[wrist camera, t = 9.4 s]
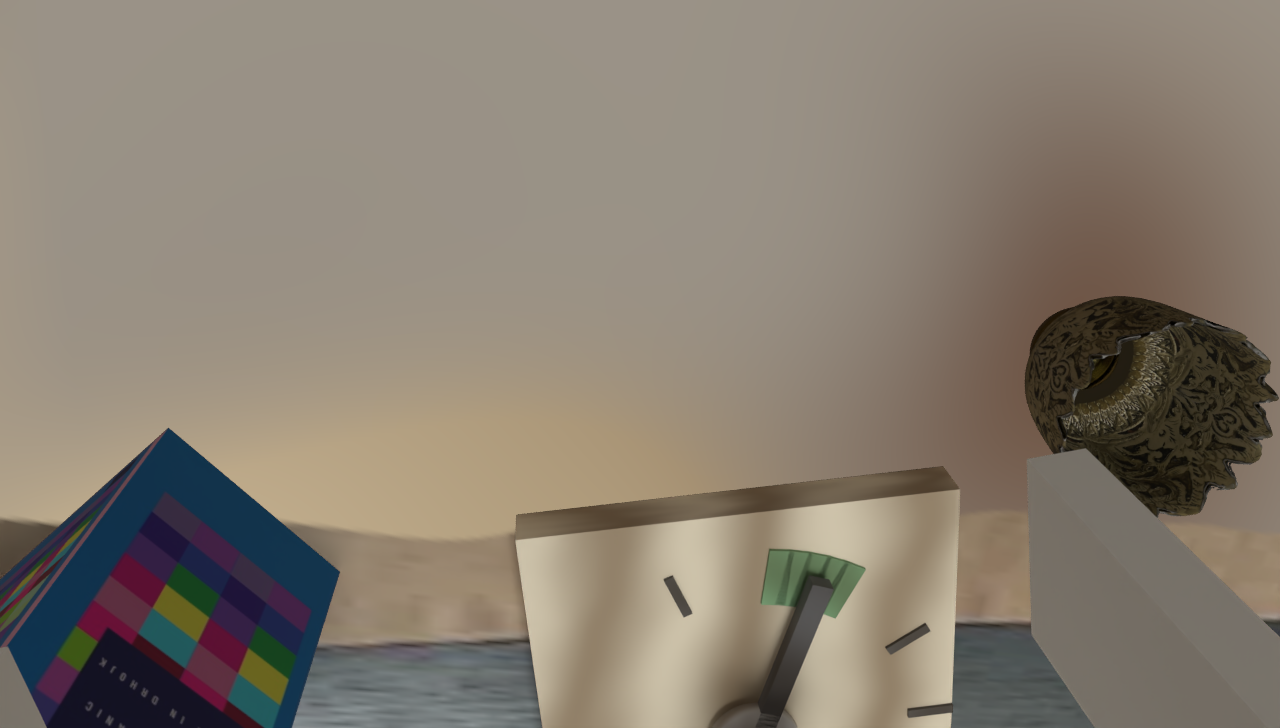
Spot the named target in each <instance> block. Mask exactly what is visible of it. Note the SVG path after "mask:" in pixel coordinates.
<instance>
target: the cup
mask: <svg viewBox="0 0 1280 728" xmlns="http://www.w3.org/2000/svg"><path fill="white" fill-rule="evenodd" d="M1246 339H1247V337H1246V336H1245V335H1243V334H1242V333H1240V332H1238V331H1235V330H1233V329H1230V328H1228V327H1224V326H1221V325H1219V324H1216V323H1213V322H1210V321H1208V320H1205V319H1203V318H1200V317H1197V316H1194V315H1192V314H1189V313H1187V312H1184V311H1181V310H1179V309H1176V308H1173V307H1171V306H1168V305H1165V304H1162V303H1159V302H1155V301H1150V300H1146V299H1142V298H1135V297H1126V296H1113V297H1105V298H1099V299H1094V300H1090V301H1087V302H1084V303H1082V304H1080V305H1077V306H1075V307H1072V308H1067V309H1064V310H1061V311H1059V312H1057V313H1055V314H1053V315H1052V316H1050V317H1049V318H1048V319H1046V320H1045V321H1044V322H1043V323H1042V325H1041V326H1040V327H1039V328H1038V330H1037V331H1036V333H1035V335H1034V337H1033V339H1032V343H1031V347H1030V356H1029V359H1028V363H1027V367H1026V372H1025V394H1026V399H1027V403H1028V407H1029V410H1030V413H1031V416H1032V418H1033V420H1034V422H1035V424H1036V426H1037V428H1038V430H1039V432H1040V433H1041V435H1042V437H1043V439H1044V440H1045V442H1046V443H1047V445H1048V446H1049V448H1050V449H1051V451H1052V452H1053V454H1058V453H1063V452H1069V451H1074V450H1080V449H1085V448H1086V449H1087V450H1088V451H1089V452H1090V453H1091V454H1092V455H1093V456H1094V457H1095V458H1096V459H1097V460H1098V461H1099V462H1100V463H1101V464H1102V465H1103V466H1105V467H1106V468H1107V469H1108V470H1109V471H1110V472H1111V473H1112V474H1113V475H1114V476H1115V477H1116V478H1117V479H1118V480H1119V481H1120V482H1121V483H1122V484H1123V485H1124V486H1125V487H1126V488H1127V489H1128V490H1129V491H1130V492H1131V493H1132V494H1133V495H1134V496H1135V497H1136V498H1137V499H1138V500H1139V501H1140V502H1141V503H1142V504H1144V505H1145V506H1146V507H1147V508H1148V509H1149V510H1150V511H1151V512H1152V513H1153V514H1154V515H1155V516H1156V517H1157V518H1158V515H1159V513H1163V514H1167V515H1170V516H1187V515H1193V514H1197V513H1199V512H1200V511H1201V510H1202V508H1203V506H1204V504H1205V502H1206V499H1207V494H1208V492H1209V491H1210V490H1211V488H1212V487H1211V486H1215V487H1218V488H1220V489H1218V490H1221V489H1222V490H1230V489H1235V488H1236V487H1237V485H1238V483H1237V481H1236V477H1235V474H1234V472H1233V471H1232V468H1231V466H1230V465H1231V463H1235V464H1249V465H1250V464H1252V463H1254V462H1256V461H1258V460H1259V459H1260V456H1261V455H1262V453H1261V450H1262V445H1261V444H1260V442H1259V440H1263V439H1264V438H1270V437H1272V435H1273V434H1272V430H1271V427H1270V425H1269V423H1268V421H1267V419H1266V411H1265V410H1264V409H1263V408H1262V407H1261V406H1260V404H1259V403H1266V402H1269V403H1270V402H1272V401H1277V400H1278V399H1279V397H1278V395H1277V394H1276V393H1275V391H1274V390H1273V389H1272V388H1271V387H1270V386H1269V385H1268V384H1267V383H1266V382H1265V377H1266V375H1267V374H1269V373H1270V364H1271V362H1270V360H1269V359H1268V358H1267V357H1266V355H1265V354H1263V353H1262V352H1261V351H1260V350H1259V349H1257V348H1256V347H1255V346H1254V345H1253V344H1252V343H1250V342H1249V341H1248V340H1246ZM1228 462H1230V463H1229V466H1228ZM1229 468H1230V469H1229ZM1230 470H1231V471H1230ZM1231 472H1232V473H1231ZM1213 488H1214V487H1213Z"/></svg>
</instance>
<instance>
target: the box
mask: <svg viewBox="0 0 1280 728" xmlns="http://www.w3.org/2000/svg"><path fill="white" fill-rule="evenodd" d="M339 573H340V572H339V571H338V570H337V569H336V568H335V567H333V566H332V565H331V564H330V563H329V562H327V561H326V560H325V559H324V558H323V557H322V556H320V555H319V554H318V553H317V552H316V551H314V550H313V549H312V548H311V547H310V546H308V545H307V544H306V543H305V542H304V541H302V540H301V539H300V538H299V537H298V536H297V535H295V534H294V533H293V532H292V531H291V530H289V529H288V528H287V527H286V526H285V525H283V524H282V523H281V522H280V521H279V520H278V519H277V518H275V517H274V516H273V515H272V514H271V513H269V512H268V511H267V510H266V509H265V508H263V507H262V506H261V505H260V504H259V503H257V502H256V501H255V500H254V499H253V498H251V497H250V496H249V495H248V494H247V493H246V492H244V491H243V490H242V489H241V488H240V487H238V486H237V485H236V484H235V483H234V482H232V481H231V480H230V479H229V478H228V477H227V476H225V475H224V474H223V473H222V472H221V471H219V470H218V469H217V468H216V467H215V466H213V465H212V464H211V463H210V462H209V461H207V460H206V459H205V458H204V457H203V456H202V455H200V454H199V453H198V452H197V451H196V450H194V449H193V448H192V447H191V446H189V445H188V444H187V443H186V442H185V441H183V440H182V439H181V438H180V437H179V436H178V435H177V434H175V433H174V432H173V431H172V430H170V429H169V428H168V429H167V430H165V431H164V432H163V433H162V434H161V435H160V436H159V437H158V438H156V439H155V440H154V441H153V442H152V443H151V444H150V445H149V446H148V447H146V448H145V449H144V450H143V451H142V452H141V453H140V454H139V455H138V456H137V457H135V458H134V459H133V460H132V461H131V462H130V463H129V464H128V465H126V466H125V467H124V468H123V469H122V470H121V471H120V472H119V473H118V474H117V475H115V476H114V477H113V478H112V479H111V480H110V481H109V482H108V483H106V484H105V485H104V486H103V487H102V488H101V489H100V490H99V491H98V492H96V493H95V494H94V495H93V496H92V497H91V498H90V499H89V500H88V501H86V502H85V503H84V504H83V505H82V506H81V507H80V508H79V509H78V510H77V511H75V512H74V513H73V514H72V515H71V516H70V517H69V518H68V519H66V520H65V521H64V522H63V523H62V524H61V525H60V526H59V527H58V528H56V529H55V530H54V531H53V532H52V533H51V534H50V535H49V536H48V537H46V538H45V539H44V540H43V541H42V542H41V543H40V544H39V545H38V546H36V547H35V548H34V549H33V550H32V551H31V552H30V553H29V554H28V555H26V556H25V557H24V558H23V559H22V560H21V561H20V562H19V563H18V564H16V565H15V566H14V567H13V568H12V569H11V570H10V571H9V572H8V573H6V574H5V575H4V576H3V577H2V578H1V579H0V648H2V647H8V648H9V650H10V652H11V654H12V656H13V658H14V660H15V663H16V665H17V667H18V669H19V671H20V673H21V675H22V677H23V679H24V681H25V683H26V685H27V687H28V690H29V692H30V694H31V696H32V698H33V700H34V702H35V704H36V706H37V708H38V710H39V712H40V714H41V717H42V719H43V721H44V723H45V725H46V727H47V728H292V725H293V722H294V719H295V715H296V712H297V709H298V706H299V702H300V699H301V696H302V693H303V690H304V686H305V683H306V680H307V677H308V673H309V670H310V667H311V664H312V661H313V657H314V654H315V651H316V648H317V644H318V641H319V638H320V635H321V631H322V628H323V625H324V622H325V619H326V615H327V612H328V609H329V606H330V602H331V599H332V596H333V593H334V590H335V586H336V583H337V580H338V577H339Z"/></svg>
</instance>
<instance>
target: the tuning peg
mask: <svg viewBox="0 0 1280 728" xmlns="http://www.w3.org/2000/svg"><path fill="white" fill-rule="evenodd" d="M833 590H834V589H833V586H832V584H831V582H830V580H829V579H825V578H820V577H815V576H811V575H809V577H808V579H807V582H806V584H805V586H804V589H803V591H802V594H801V596H800V599H799V601H798V604H797V606H796V609H795V611H794V614H793V616H792V619H791V621H790V624H789V626H788V629H787V631H786V634H785V636H784V639H783V641H782V643H781V646H780V648H779V651H778V653H777V656H776V658H775V661H774V663H773V666H772V668H771V671H770V673H769V676H768V678H767V681H766V683H765V686H764V688H763V691H762V693H761V696H760V698H759V700H758V702H755V703H747V704H743V705H740V706H737V707H735V708H732V709H731V710H729V711H727V712H726V713H724V714H723V715H722V716H721V717H720V718H719V719H718V720H717V721H716V722H715V723H714V725H713V726H712V728H798V727H797V724H796V722H795V720H794V719H793V717H792V716H791V715H790V714H789V713H788V712H787V711H785V710H784V708H785V706H786V703H787V701H788V698H789V696H790V694H791V691H792V689H793V686H794V684H795V681H796V679H797V677H798V674H799V672H800V669H801V667H802V665H803V662H804V660H805V657H806V655H807V653H808V650H809V648H810V645H811V643H812V641H813V638H814V636H815V633H816V631H817V628H818V626H819V624H820V621H821V619H822V616H823V614H824V612H825V609H826V607H827V604H828V602H829V600H830V597H831V595H832V592H833Z"/></svg>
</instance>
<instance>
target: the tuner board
mask: <svg viewBox="0 0 1280 728" xmlns="http://www.w3.org/2000/svg"><path fill="white" fill-rule="evenodd" d="M959 507H960V488H959V487H958V486H957V484H956V483H955V482H954V480H953V479H952V478H951V476H950V475H949V474H948V472H947V471H946V470H945V468H944V467H943V466H941V467H932V468H923V469H916V470H907V471H898V472H889V473H880V474H871V475H862V476H854V477H844V478H835V479H827V480H818V481H809V482H800V483H791V484H783V485H774V486H765V487H756V488H747V489H739V490H730V491H722V492H713V493H703V494H694V495H687V496H678V497H668V498H660V499H651V500H642V501H633V502H625V503H615V504H607V505H598V506H589V507H580V508H571V509H563V510H554V511H545V512H536V513H527V514H518V515H516V536H515V542H516V548H517V555H518V562H519V569H520V576H521V583H522V590H523V597H524V604H525V611H526V618H527V624H528V631H529V638H530V645H531V652H532V659H533V666H534V673H535V680H536V687H537V694H538V700H539V707H540V714H541V721H542V728H712V726H713V725H714V723H715V722H716V721H717V720H718V719H719V718H720V717H721V716H722V715H723V714H724V713H726V712H727V711H729V710H731V709H732V708H735V707H737V706H740V705H743V704H747V703H755V702H758V700H759V698H760V696H761V693H762V691H763V688H764V686H765V683H766V681H767V678H768V676H769V673H770V671H771V668H772V666H773V663H774V661H775V658H776V656H777V653H778V651H779V648H780V646H781V643H782V641H783V639H784V636H785V634H786V631H787V629H788V626H789V624H790V621H791V619H792V616H793V614H794V611H795V609H796V606H797V604H798V601H799V599H800V596H801V594H802V591H803V589H804V586H805V584H806V582H807V579H808V577H809V575H811V576H815V577H820V578H825V579H829V580H830V582H831V584H832V586H833V589H834V590H833V592H832V595H831V597H830V600H829V602H828V604H827V607H826V609H825V612H824V614H823V616H822V619H821V621H820V624H819V626H818V628H817V631H816V633H815V636H814V638H813V641H812V643H811V645H810V648H809V650H808V653H807V655H806V657H805V660H804V662H803V665H802V667H801V669H800V672H799V674H798V677H797V679H796V681H795V684H794V686H793V689H792V691H791V694H790V696H789V698H788V701H787V703H786V706H785V708H784V710H785V711H787V712H788V713H789V714H790V715H791V716H792V717H793V719H794V720H795V722H796V724H797V727H798V728H951V713H953V704H952V684H953V659H954V633H955V608H956V583H957V557H958V532H959Z"/></svg>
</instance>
